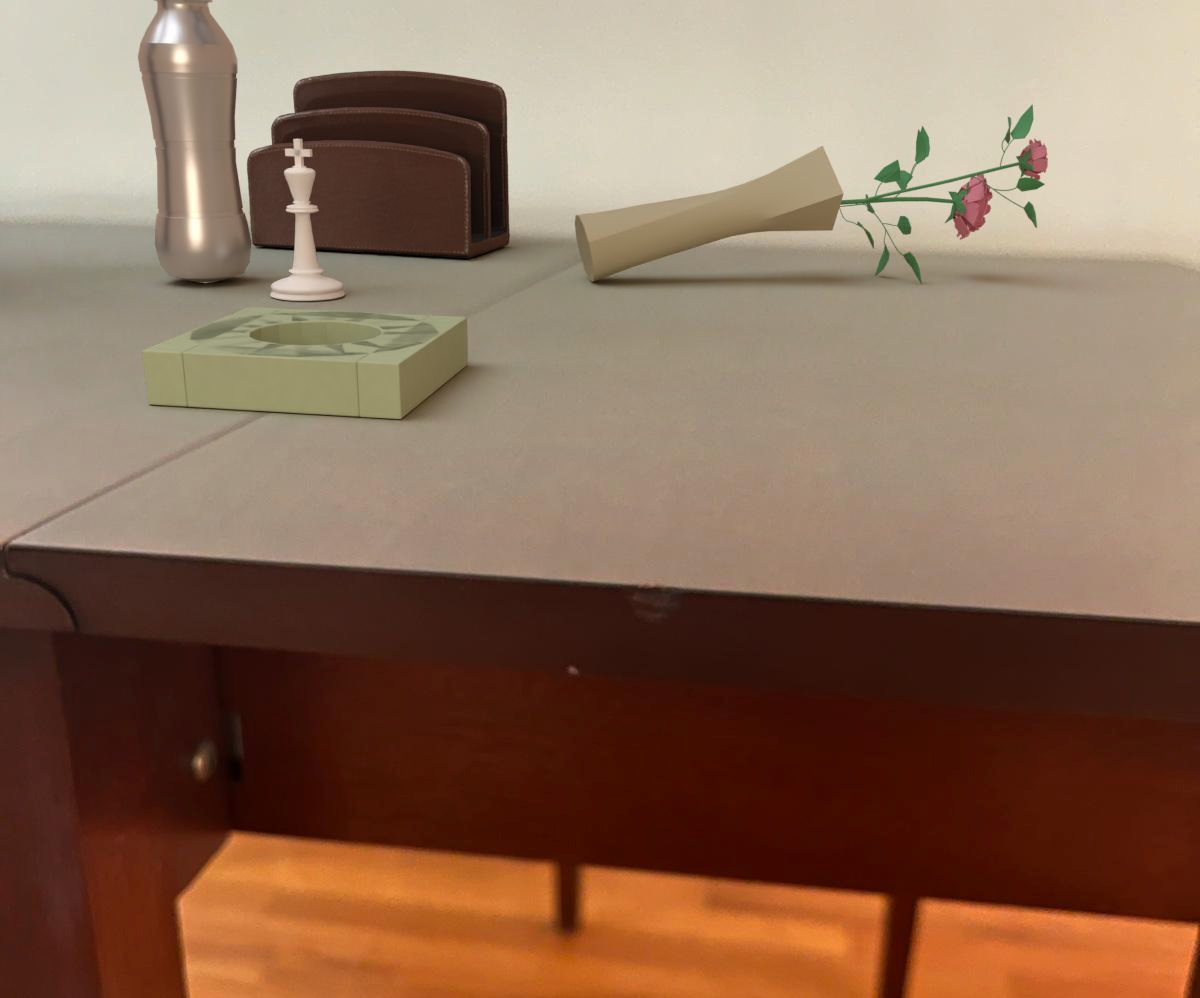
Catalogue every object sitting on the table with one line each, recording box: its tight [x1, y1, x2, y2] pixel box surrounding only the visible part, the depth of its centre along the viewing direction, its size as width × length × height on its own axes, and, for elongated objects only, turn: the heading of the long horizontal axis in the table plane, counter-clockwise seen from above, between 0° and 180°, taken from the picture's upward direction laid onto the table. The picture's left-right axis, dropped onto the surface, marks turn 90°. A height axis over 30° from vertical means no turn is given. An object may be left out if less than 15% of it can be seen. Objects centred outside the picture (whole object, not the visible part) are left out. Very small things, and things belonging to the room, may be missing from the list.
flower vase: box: [574, 103, 1049, 285], centre depth 99 cm, size 12×12×35 cm
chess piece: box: [270, 139, 346, 302], centre depth 87 cm, size 5×5×10 cm
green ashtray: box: [141, 306, 469, 420], centre depth 65 cm, size 12×12×2 cm
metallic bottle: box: [137, 0, 252, 284], centre depth 90 cm, size 6×7×20 cm
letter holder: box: [246, 70, 511, 260], centre depth 111 cm, size 10×20×14 cm, turn 74°
